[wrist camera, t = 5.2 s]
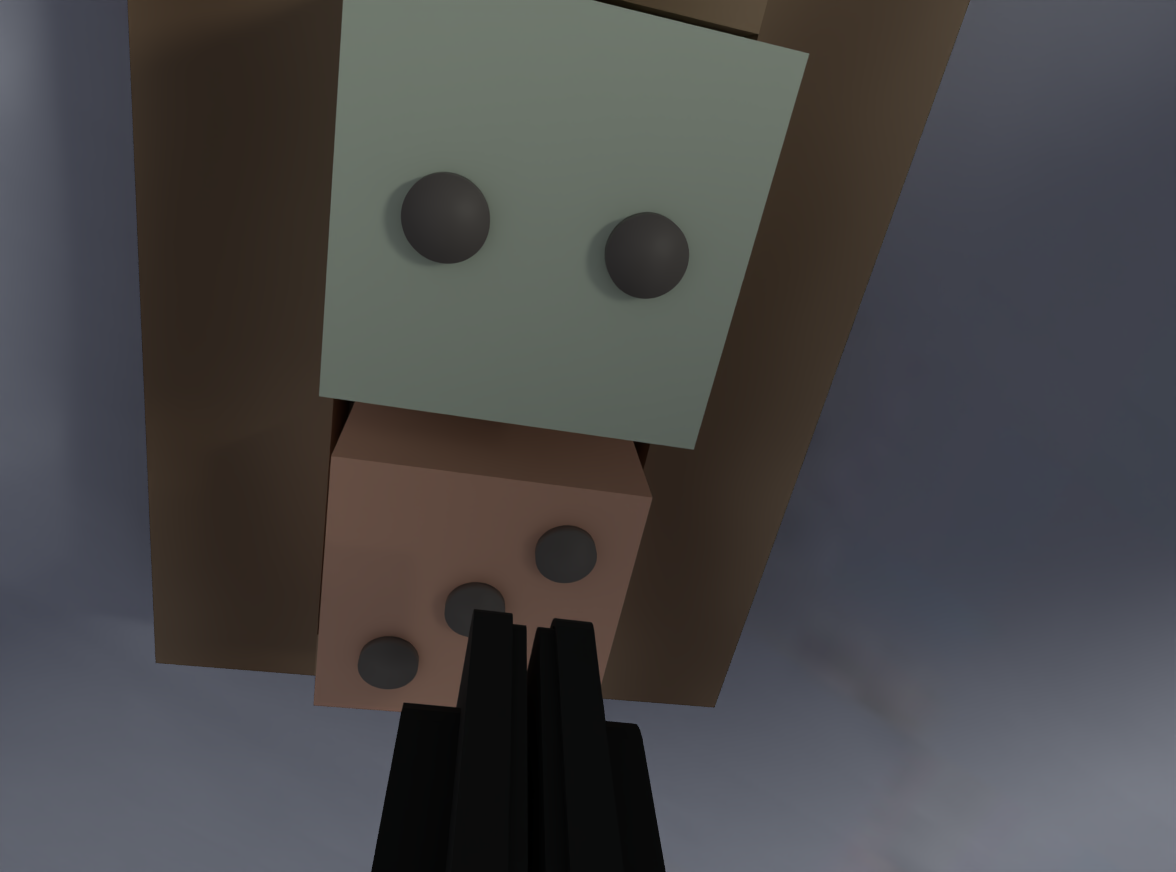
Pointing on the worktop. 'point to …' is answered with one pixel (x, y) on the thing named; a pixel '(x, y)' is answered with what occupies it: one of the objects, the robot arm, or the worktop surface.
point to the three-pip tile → (465, 546)
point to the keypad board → (314, 424)
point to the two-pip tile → (544, 210)
